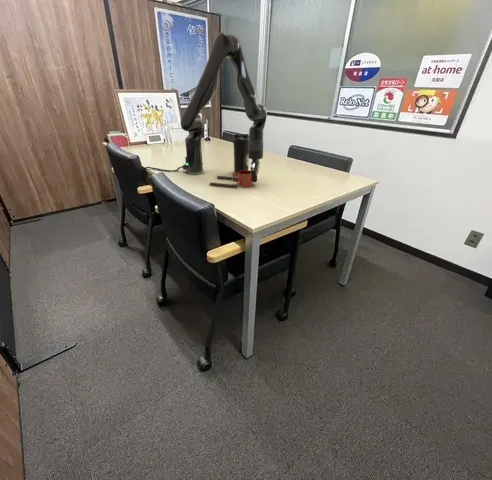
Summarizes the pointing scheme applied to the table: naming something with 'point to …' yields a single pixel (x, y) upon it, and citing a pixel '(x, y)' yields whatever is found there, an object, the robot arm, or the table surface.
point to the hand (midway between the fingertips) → (254, 181)
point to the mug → (244, 178)
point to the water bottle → (241, 152)
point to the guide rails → (224, 184)
